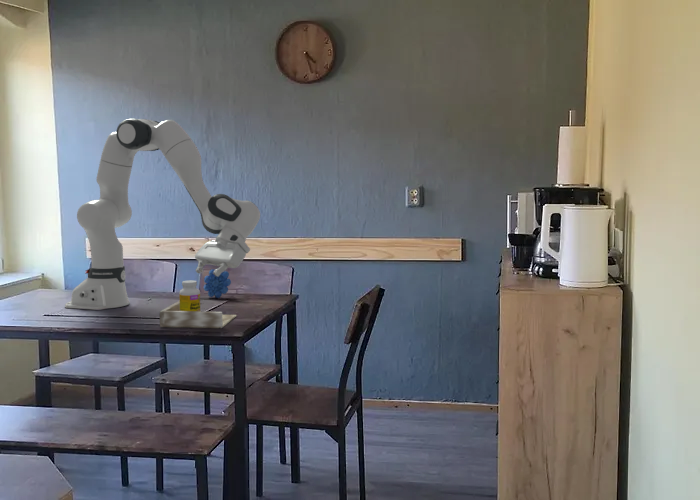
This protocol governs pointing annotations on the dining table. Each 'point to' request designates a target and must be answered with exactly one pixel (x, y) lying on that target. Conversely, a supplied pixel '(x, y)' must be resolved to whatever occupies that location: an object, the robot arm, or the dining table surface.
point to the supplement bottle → (189, 296)
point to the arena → (192, 318)
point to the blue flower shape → (217, 284)
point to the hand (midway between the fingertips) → (206, 273)
